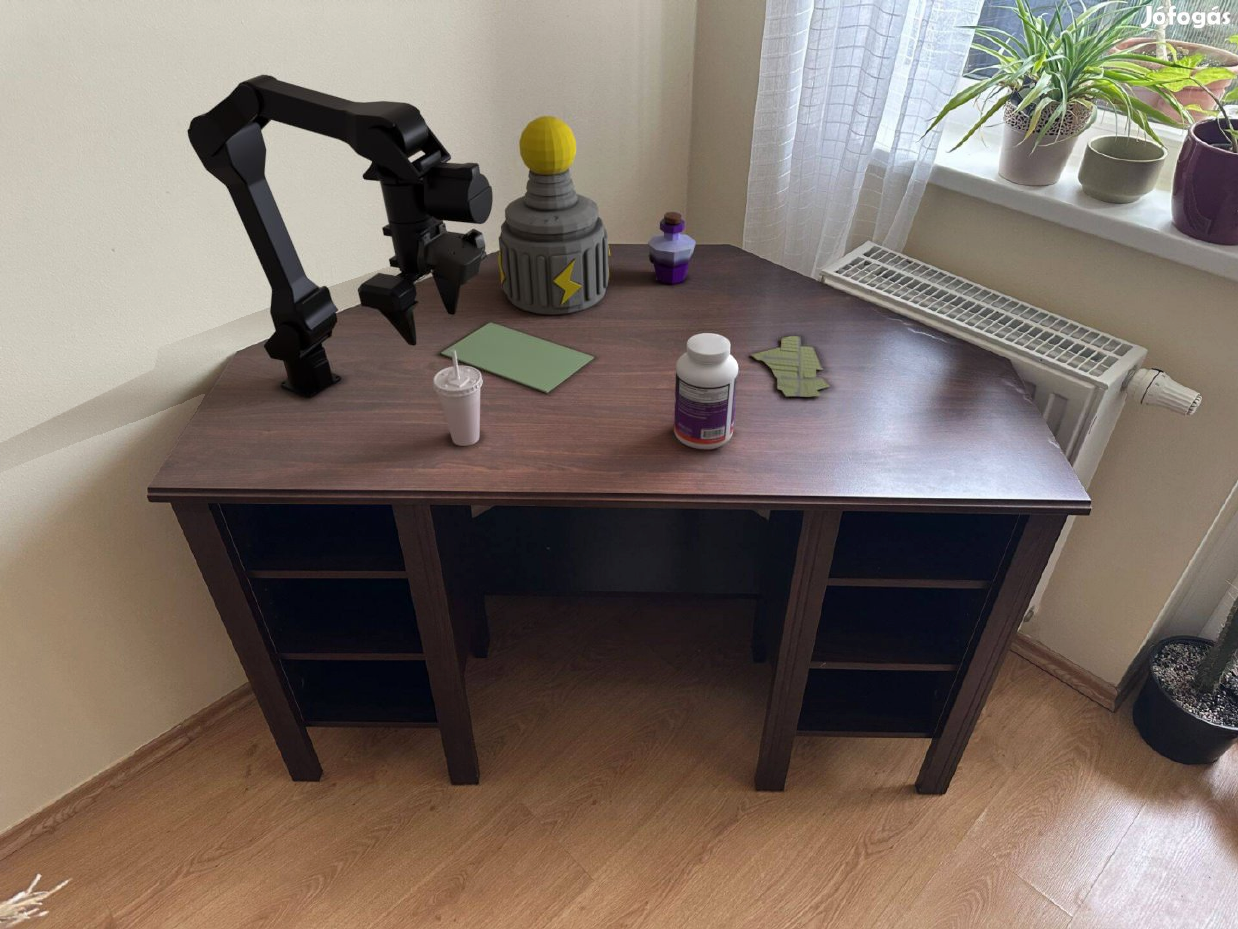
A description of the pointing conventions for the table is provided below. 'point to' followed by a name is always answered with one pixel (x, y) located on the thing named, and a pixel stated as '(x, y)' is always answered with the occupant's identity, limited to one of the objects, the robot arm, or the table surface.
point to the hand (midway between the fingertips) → (432, 329)
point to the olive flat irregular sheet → (794, 367)
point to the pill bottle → (705, 392)
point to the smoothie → (460, 401)
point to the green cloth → (518, 357)
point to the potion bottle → (671, 250)
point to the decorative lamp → (552, 230)
